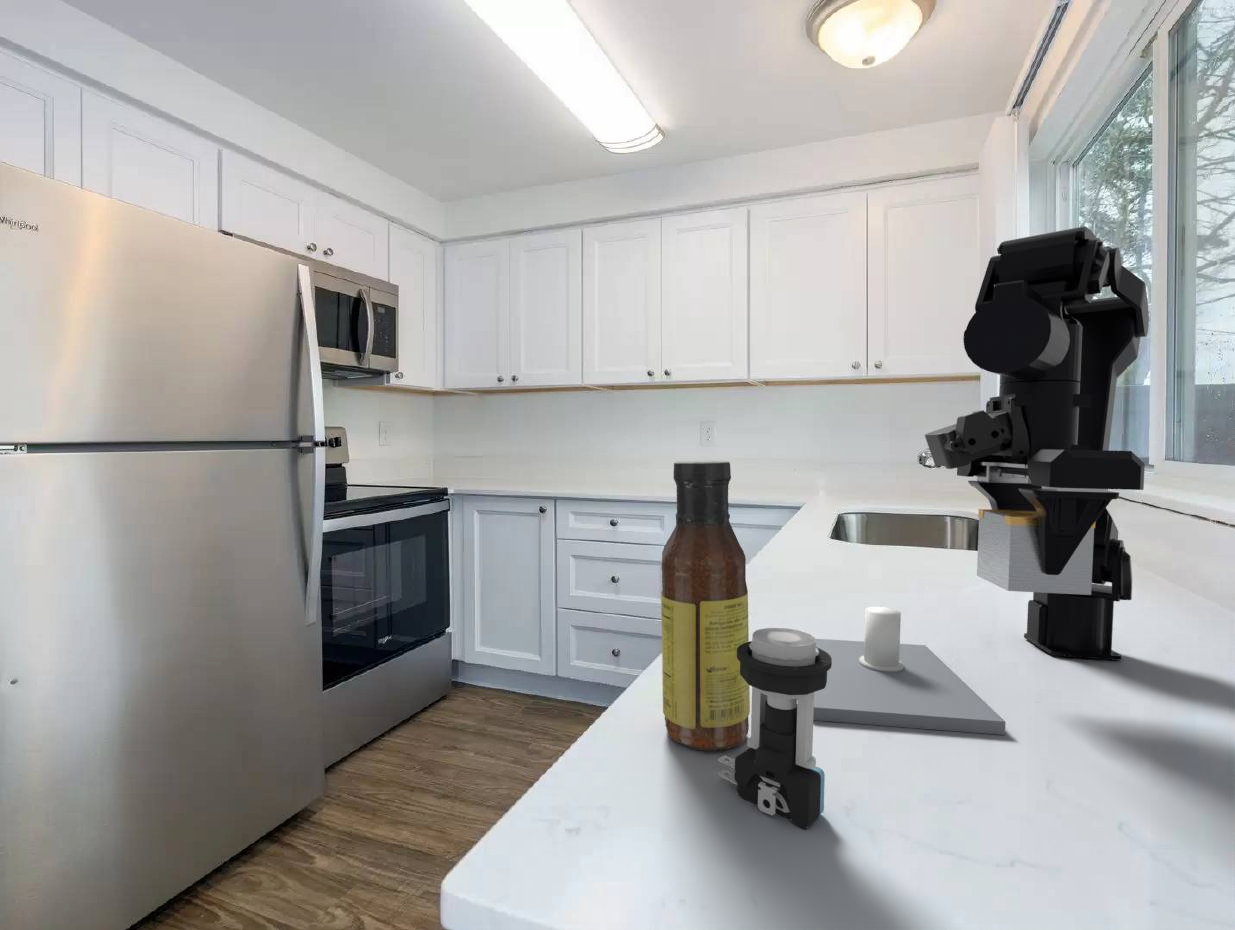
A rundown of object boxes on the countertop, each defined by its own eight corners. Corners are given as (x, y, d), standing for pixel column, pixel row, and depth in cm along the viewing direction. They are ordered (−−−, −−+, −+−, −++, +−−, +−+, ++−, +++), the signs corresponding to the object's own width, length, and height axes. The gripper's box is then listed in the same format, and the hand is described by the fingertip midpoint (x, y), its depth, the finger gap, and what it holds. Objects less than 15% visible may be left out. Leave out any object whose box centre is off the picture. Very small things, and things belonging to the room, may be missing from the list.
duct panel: (924, 654, 65) (927, 596, 65) (1004, 735, 47) (1008, 654, 47) (783, 646, 67) (784, 589, 67) (808, 719, 49) (810, 642, 49)
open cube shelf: (1050, 578, 58) (1053, 511, 57) (1092, 595, 51) (1095, 519, 51) (976, 575, 59) (978, 508, 58) (1007, 591, 52) (1010, 516, 52)
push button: (696, 797, 38) (700, 631, 38) (742, 765, 42) (746, 614, 42) (801, 846, 34) (806, 658, 33) (842, 804, 38) (847, 636, 37)
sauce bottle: (754, 724, 48) (760, 460, 48) (742, 762, 42) (749, 463, 42) (669, 710, 50) (675, 458, 50) (647, 745, 45) (652, 460, 44)
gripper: (905, 392, 65) (900, 545, 65) (983, 371, 46) (975, 586, 47) (1024, 393, 63) (1017, 550, 64) (1154, 372, 45) (1143, 594, 45)
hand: (1031, 566), depth 55 cm, fingers closed on open cube shelf, 6 cm apart
